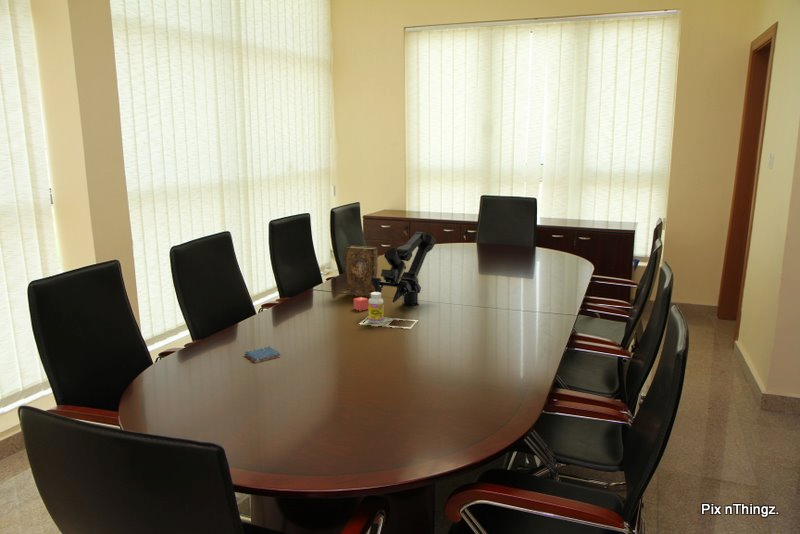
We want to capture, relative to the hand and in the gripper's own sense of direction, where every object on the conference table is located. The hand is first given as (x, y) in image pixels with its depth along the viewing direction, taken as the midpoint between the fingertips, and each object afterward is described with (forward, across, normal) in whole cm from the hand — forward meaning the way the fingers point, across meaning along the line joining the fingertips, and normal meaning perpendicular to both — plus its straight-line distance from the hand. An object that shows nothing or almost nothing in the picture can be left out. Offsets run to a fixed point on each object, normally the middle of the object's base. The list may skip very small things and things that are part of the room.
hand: (384, 300), depth 273 cm
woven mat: (+51, -16, -40) cm, 66 cm away
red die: (+1, -17, +10) cm, 20 cm away
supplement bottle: (+11, 0, 0) cm, 11 cm away
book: (-15, -30, +27) cm, 43 cm away
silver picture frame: (+10, +6, +1) cm, 12 cm away
